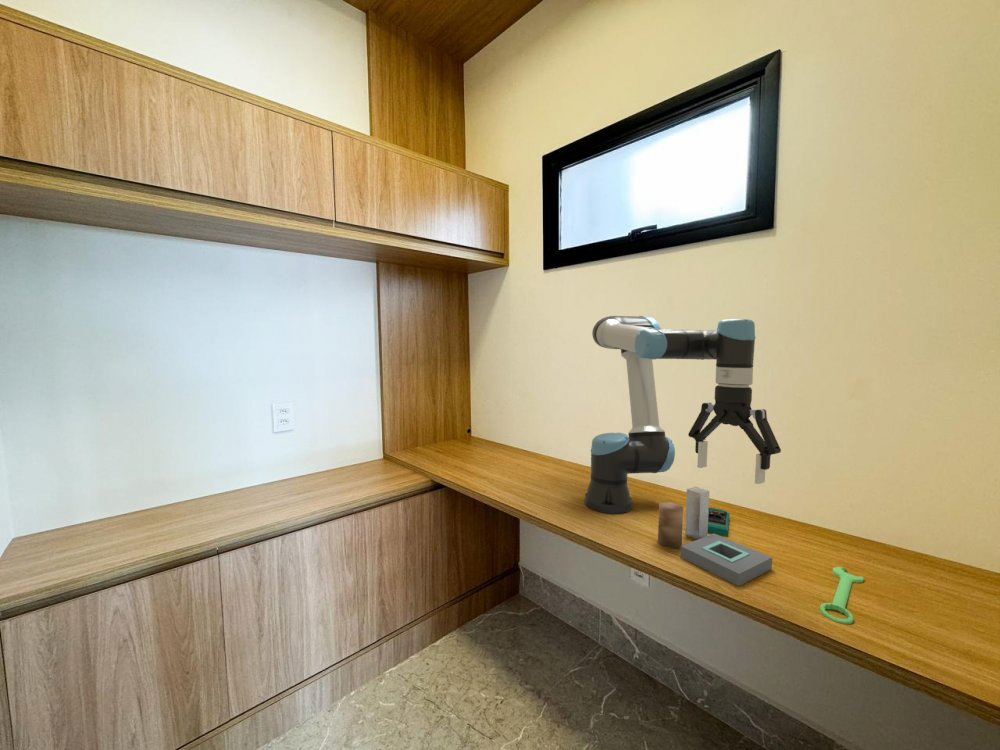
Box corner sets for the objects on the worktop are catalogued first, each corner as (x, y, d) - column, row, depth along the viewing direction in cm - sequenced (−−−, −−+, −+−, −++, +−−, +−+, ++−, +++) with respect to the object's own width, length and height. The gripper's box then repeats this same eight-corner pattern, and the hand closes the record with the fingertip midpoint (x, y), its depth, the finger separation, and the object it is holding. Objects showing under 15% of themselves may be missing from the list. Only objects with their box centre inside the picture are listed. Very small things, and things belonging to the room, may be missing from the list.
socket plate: (680, 557, 98) (681, 545, 98) (713, 543, 105) (714, 532, 105) (738, 586, 86) (739, 572, 86) (771, 568, 93) (772, 556, 93)
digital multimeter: (729, 519, 121) (729, 510, 121) (727, 538, 109) (728, 528, 109) (702, 514, 125) (703, 505, 125) (698, 531, 113) (698, 521, 112)
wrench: (864, 581, 90) (833, 571, 94) (864, 573, 90) (834, 563, 94) (852, 631, 73) (816, 616, 77) (853, 621, 73) (817, 607, 77)
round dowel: (653, 541, 106) (654, 504, 105) (667, 536, 109) (668, 500, 108) (672, 550, 101) (673, 512, 100) (686, 545, 104) (687, 508, 103)
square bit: (685, 534, 110) (686, 488, 109) (693, 531, 112) (695, 486, 111) (698, 540, 106) (700, 493, 106) (707, 537, 108) (709, 490, 108)
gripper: (675, 382, 101) (672, 463, 103) (785, 391, 80) (779, 493, 81) (693, 381, 105) (690, 459, 107) (802, 389, 84) (797, 487, 85)
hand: (729, 474), depth 94 cm, fingers open, 13 cm apart
